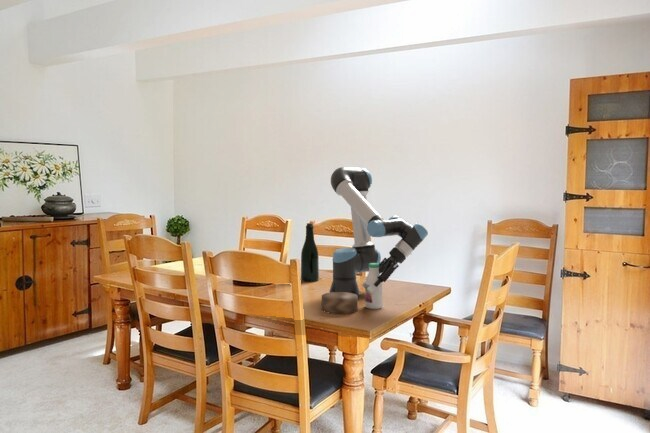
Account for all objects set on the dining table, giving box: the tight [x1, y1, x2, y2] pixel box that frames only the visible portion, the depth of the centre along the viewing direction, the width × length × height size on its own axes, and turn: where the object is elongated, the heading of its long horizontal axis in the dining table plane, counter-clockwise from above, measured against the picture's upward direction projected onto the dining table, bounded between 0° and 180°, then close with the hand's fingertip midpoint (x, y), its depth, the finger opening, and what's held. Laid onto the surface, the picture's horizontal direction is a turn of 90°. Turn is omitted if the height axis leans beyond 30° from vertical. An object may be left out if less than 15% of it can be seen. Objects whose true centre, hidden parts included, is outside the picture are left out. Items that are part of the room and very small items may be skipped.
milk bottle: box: [364, 263, 383, 310], centre depth 225 cm, size 8×8×20 cm
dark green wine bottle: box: [300, 222, 320, 282], centre depth 285 cm, size 10×10×33 cm
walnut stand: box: [321, 292, 359, 315], centre depth 222 cm, size 16×16×6 cm
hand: (366, 288), depth 224 cm, fingers closed on milk bottle, 7 cm apart
